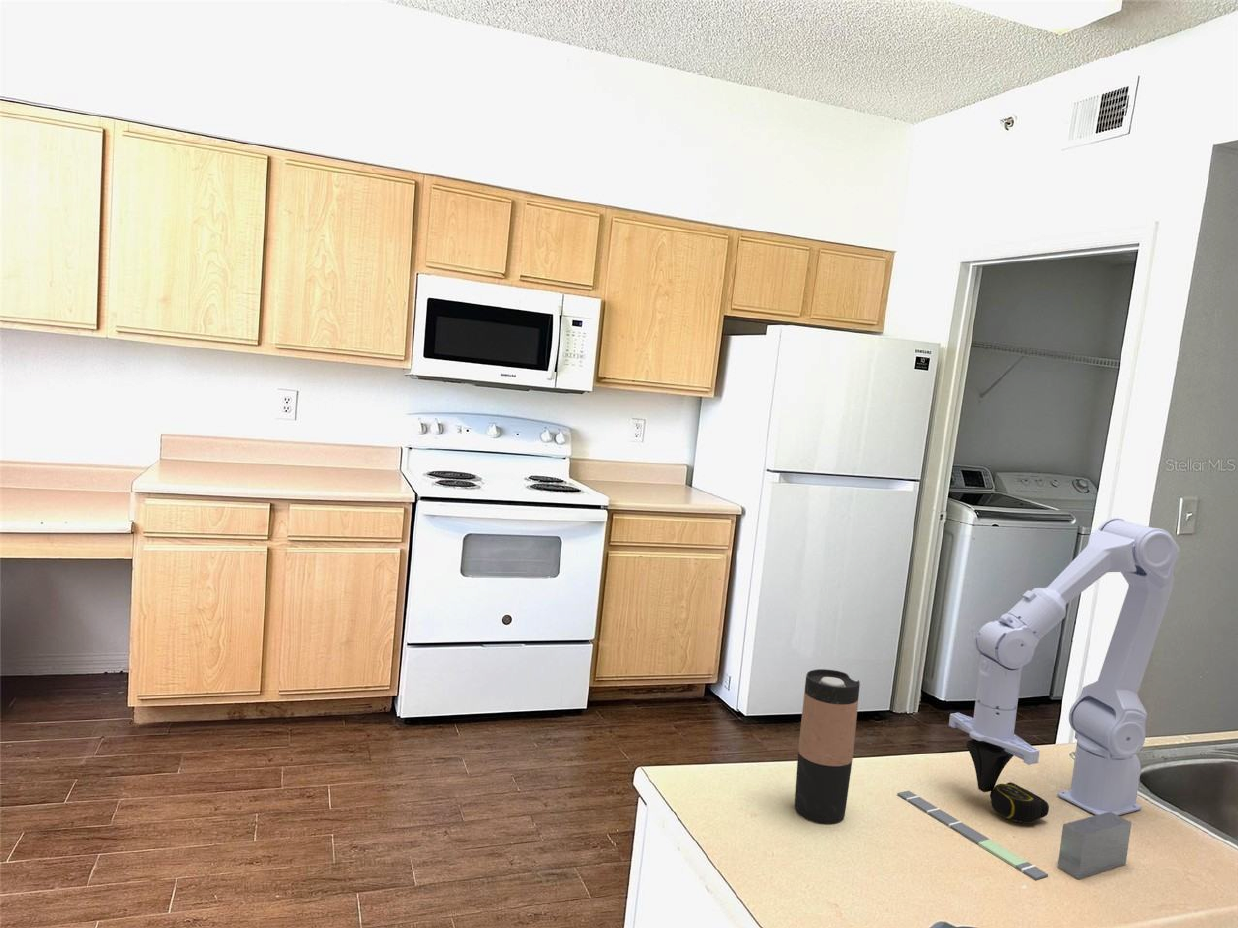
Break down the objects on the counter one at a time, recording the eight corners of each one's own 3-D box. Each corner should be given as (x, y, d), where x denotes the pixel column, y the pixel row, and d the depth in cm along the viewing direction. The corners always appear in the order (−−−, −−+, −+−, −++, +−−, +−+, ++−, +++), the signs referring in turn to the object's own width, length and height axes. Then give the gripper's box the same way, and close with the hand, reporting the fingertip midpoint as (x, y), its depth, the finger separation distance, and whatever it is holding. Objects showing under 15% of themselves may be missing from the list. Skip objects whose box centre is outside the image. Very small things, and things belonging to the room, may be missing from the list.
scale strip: (908, 792, 134) (909, 789, 134) (1048, 876, 113) (1048, 873, 113) (897, 794, 133) (897, 792, 133) (1035, 880, 112) (1035, 877, 112)
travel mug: (787, 816, 124) (801, 680, 122) (797, 794, 131) (810, 665, 129) (842, 830, 121) (857, 691, 119) (849, 806, 128) (863, 675, 126)
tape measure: (1049, 823, 128) (1053, 799, 127) (1017, 831, 125) (1020, 806, 124) (1010, 801, 134) (1013, 778, 133) (978, 808, 131) (981, 784, 130)
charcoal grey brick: (1100, 850, 121) (1106, 809, 120) (1125, 864, 118) (1131, 821, 117) (1053, 864, 116) (1059, 822, 116) (1078, 879, 113) (1084, 835, 112)
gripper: (939, 688, 135) (929, 772, 136) (1020, 724, 122) (1008, 817, 123) (971, 684, 138) (961, 766, 140) (1053, 718, 125) (1041, 808, 127)
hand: (985, 789), depth 132 cm, fingers closed
